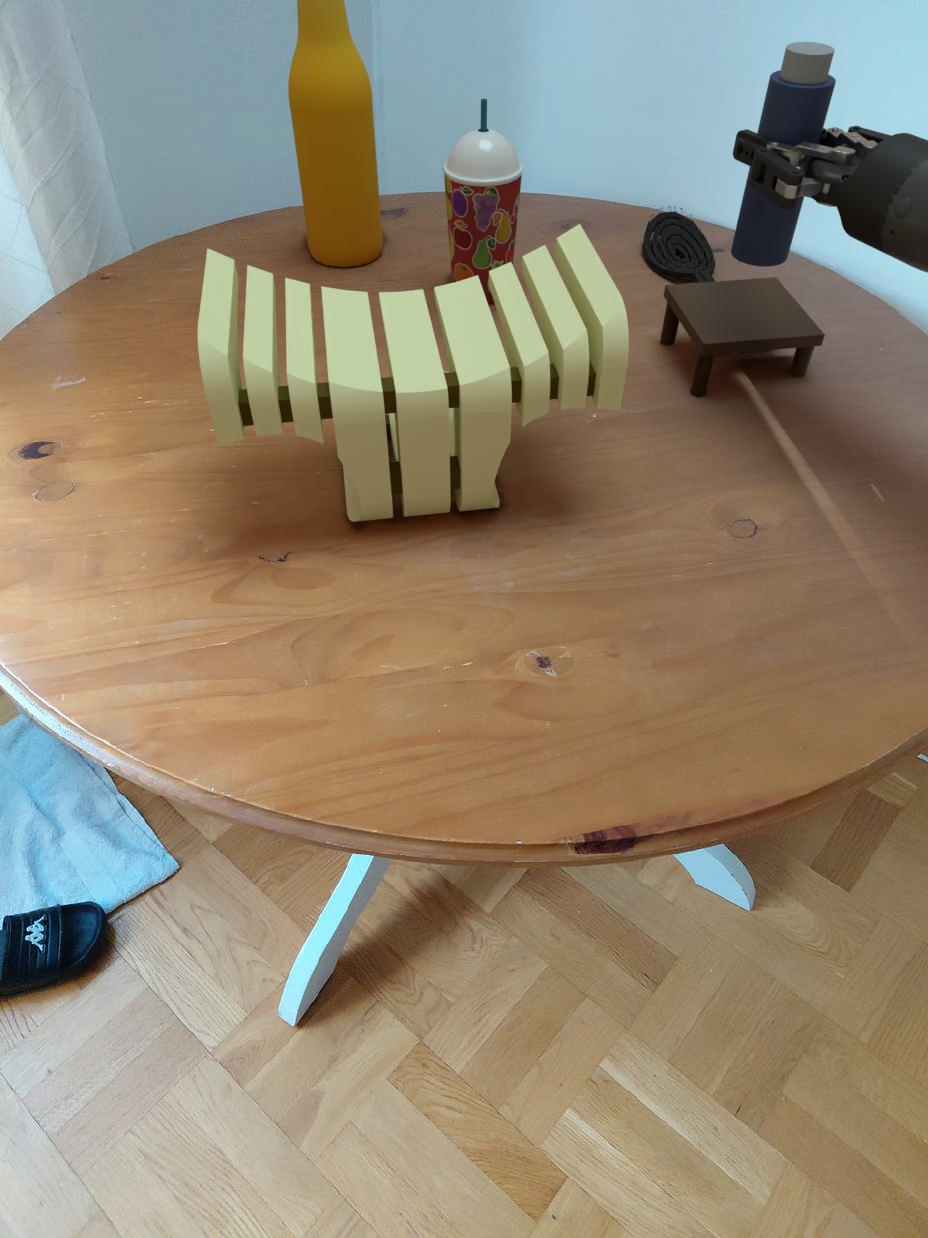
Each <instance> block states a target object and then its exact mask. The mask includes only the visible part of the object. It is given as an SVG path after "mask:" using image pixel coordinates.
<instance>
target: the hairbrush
mask: <svg viewBox="0 0 928 1238" xmlns="http://www.w3.org/2000/svg"><path fill="white" fill-rule="evenodd" d="M667 208H668V210H670V209H672V206H669V205H668V207H667ZM673 208H674V209H676V206H674V207H673ZM661 209H662V211H661ZM656 210H657V211H659V210H660V212H657V214H656V215H655V213H652V216H649V219H650V220H648V221H647V224H646V228H645V230H644V235H643V240H642V246H641V249H642V250H641V251H642V253H643V255H644V258H645V260H646V263H647V265H648V268H649V269H651V270H653V271H654V272H656V273H657V274H658V275H660V276H662V277H667V278H672V279H677V280H691V281H692V283H701V282H715V281H716V279H715V278H714V277H713V275H714V270H715V268H716V264H717V263H716V260H715V255H714V252H713V248H712V247H711V245H710V243H709V242H708V239H707V237H706V236H705V234H704V233H703V231H702V229H701V228H699V227H698V225H697V224H696V223H695V221H694V220H692V218H691V219H690V218H688V217H687V215H686V216H685V215H684V213H683V211H681V213H679V212H677V211H676V210H674V211H672V210H670V211H665V212H664V207H659V208H657V209H656ZM680 210H683V207H680ZM654 215H655V216H654ZM689 216H690V217H692V214H690V215H689ZM651 218H652V219H651Z"/></svg>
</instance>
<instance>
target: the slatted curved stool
mask: <svg viewBox="0 0 928 1238" xmlns="http://www.w3.org/2000/svg"><path fill="white" fill-rule="evenodd" d="M555 239H556V240H555V241H556V242H555V254H554V260H553V257H552V255H551V254H550V252H549V249H548V247H547V246H546V244H543V245H542V246H540V247H537V248H535V249H534V250H532V251H530V252H528V253H526V254H523V255H522V258H521V274H522V277H523V279H524V282H525V284H526V288H527V289H528V292H529V295H530V298H531V300H532V303H533V307H534V308H535V312H536V316H537V319H538V323H537V320H536V319H535V315H534V313H533V310H532V308H531V306H530V304H529V300H528V299H527V296H526V293H525V292H524V290H523V289H524V288H523V287H522V284H521V282H520V280H519V277H518V275H517V272H516V270H515V267H514V264H513V265H512V263H511V262H510V263H507V264H505V265H502V266H500V267H498V268H495V269H493V270H491V271H489V288H490V291H491V293H492V296H493V299H494V306H495V308H496V312H497V316H498V319H499V322H500V326H501V329H502V335H503V338H504V342H505V346H506V351H507V355H506V352H505V349H504V346H503V343H502V341H501V340H502V339H501V337H500V335H499V332H498V329H497V326H496V323H495V320H494V317H493V314H492V312H491V309H490V305H489V303H487V300H486V297H485V294H484V291H483V288H482V286H481V283H480V280H479V277H478V275H477V276H474V277H471V278H468V279H464V280H461V281H458V282H454V283H452V282H450V283H447V284H443V285H437V286H434V287H433V297H434V298H433V299H434V304H435V308H436V312H437V316H438V320H439V324H440V330H441V333H442V338H443V342H444V343H443V344H444V348H445V353H446V358H447V364H448V370H449V371H448V372H444V368H443V363H442V361H441V356H440V352H439V348H438V343H437V340H436V335H435V331H434V328H433V324H432V320H431V315H430V311H429V307H428V304H427V300H426V296H425V295H426V294H425V292H424V289H423V288H420V289H413V290H404V291H403V290H402V291H379V292H378V302H379V309H380V314H381V315H380V316H381V320H382V326H383V334H384V340H385V347H386V354H387V361H388V368H389V369H388V370H389V376H386V377H381V372H380V371H381V370H380V366H379V364H380V363H379V358H378V353H377V352H378V351H377V345H376V337H375V331H374V326H373V325H374V324H373V320H372V319H373V318H372V313H371V306H370V305H371V304H370V299H369V293H368V291H360V290H347V289H340V288H334V287H328V286H322V285H321V286H320V287H321V300H322V313H323V314H322V315H323V326H324V338H325V340H324V341H325V349H326V350H325V352H326V362H327V363H326V365H327V366H326V367H327V376H328V377H327V378H328V380H327V382H319V375H318V367H317V355H316V344H315V342H316V341H315V331H314V316H313V303H312V302H313V300H312V299H313V298H312V292H311V285H310V283H307V282H304V281H300V280H298V279H297V280H296V279H293V278H288V277H284V282H285V283H284V286H285V287H284V288H285V338H286V339H285V345H286V348H285V350H286V351H285V353H286V356H285V357H286V379H287V385H281V384H282V383H281V377H280V367H279V355H278V353H279V352H278V338H277V335H278V334H277V303H276V302H277V300H276V299H277V298H276V296H277V295H276V284H275V278H274V273H272V272H269V271H266V270H263V269H260V268H258V267H255V266H252V265H249V264H246V265H247V266H246V286H245V303H244V304H245V306H244V324H243V325H244V327H243V343H242V344H243V345H242V346H243V347H242V362H243V363H242V364H243V371H244V378H245V386H246V388H243V384H242V383H243V382H242V377H241V369H240V358H239V356H240V355H239V342H238V341H239V340H238V311H239V310H238V309H239V308H238V306H239V284H240V283H239V276H238V270H237V266H236V265H237V264H236V261H235V259H233V258H232V257H230V256H227V255H224V254H222V253H220V252H217V251H215V250H213V249H210V248H208V247H207V248H206V256H205V257H206V258H205V265H204V274H203V280H202V281H203V282H202V290H201V298H200V305H199V314H198V321H197V349H198V350H197V351H198V360H199V368H200V373H201V380H202V386H203V390H204V395H205V399H206V403H207V408H208V411H209V415H210V418H211V423H212V426H213V431H214V434H215V438H216V443H217V446H218V448H220V447H222V446H225V445H229V444H232V443H236V442H240V441H243V440H245V427H249V426H253V427H254V431H255V436H256V438H257V437H267V436H283V435H284V427H283V426H284V423H293V425H294V432H295V436H296V437H301V438H305V439H308V440H312V441H315V442H317V443H320V444H322V445H325V443H324V427H323V420H331V419H332V421H333V429H334V437H335V443H336V451H337V459H338V460H339V461H340V463H341V464H342V469H343V480H344V493H345V494H344V495H345V504H346V514H347V517H348V519H349V521H350V522H353V523H355V522H365V521H377V520H385V519H393V518H394V507H393V497H392V496H397V495H398V496H399V498H400V504H401V510H402V515H403V517H404V518H406V517H416V516H427V515H436V514H437V515H438V514H447V513H450V511H451V490H453V494H454V499H455V503H456V507H457V510H458V511H459V512H466V511H477V510H487V509H496V508H499V507H500V497H499V494H498V490H497V486H496V482H495V481H496V477H497V474H498V472H499V468H500V465H501V462H502V460H503V457H504V456H505V453H506V451H507V449H508V447H509V445H510V443H511V433H512V414H513V413H512V412H513V411H512V409H513V404H515V408H516V411H517V414H518V416H519V420H520V422H521V425H522V427H524V426H526V425H528V424H529V423H531V422H532V421H534V420H536V419H539V418H541V417H543V416H545V415H548V414H549V409H550V400H551V401H552V400H556V402H557V405H558V407H559V409H560V411H565V410H573V409H586V404H587V403H586V402H587V397H591V398H592V401H593V403H594V405H595V407H596V409H600V410H610V411H616V412H621V410H622V404H623V398H624V397H623V396H624V392H625V391H624V390H625V385H626V384H625V383H626V378H627V370H628V363H629V354H630V353H629V352H630V347H629V346H630V336H629V335H630V334H629V321H628V315H627V309H626V306H625V302H624V299H623V296H622V294H621V292H620V291H619V289H618V287H617V285H616V283H615V282H614V280H613V279H612V277H611V275H610V274H609V272H608V269H607V268H606V266H605V264H604V263H603V261H602V260H601V258H600V256H599V254H598V253H597V251H596V249H595V247H594V245H593V244H592V242H591V240H590V238H589V237H588V235H587V233H586V231H585V229H584V228H583V226H582V224H581V223H578V224H577V225H575V226H574V227H571V228H570V229H569V230H567V231H565V232H564V233H562V234H560V235H559V236H557V237H556V238H555ZM554 261H555V262H554ZM557 266H558V267H557ZM558 268H559V270H558ZM559 271H560V272H559ZM561 275H562V276H561ZM564 282H565V283H564ZM538 325H539V326H538ZM388 437H389V438H390V439H391V446H392V453H393V458H394V460H393V461H390V459H389V446H388Z"/></svg>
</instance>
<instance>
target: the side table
mask: <svg viewBox="0 0 928 1238" xmlns="http://www.w3.org/2000/svg"><path fill="white" fill-rule="evenodd" d="M663 297H664V299H665V300H666V305H665V310H664V311H665V312H664V316H663V322H662V327H661V333H660V340H659V343H660V344H661V345H663V346H665V347H672V346H674V345H675V344H676V341H677V340H676V339H677V335H678V330H679V326H680V325H679V324H680V323H681V326H682V327H683V330H685V332H686V334H687V335H688V337H689V338H690V340H691V342H692V343H693V344H694V346H695V348H696V350H697V352H698V353H697V357H696V362H695V365H694V369H693V370H694V371H693V375H692V379H691V385H690V389H689V394H690V395H691V396H692V397H695V398H704V397H705V396H706V395H707V392H708V388H709V383H710V380H711V374H712V371H713V367H714V362H715V358H716V355H723V354H733V353H735V354H736V353H747V352H760V351H772V350H773V351H774V350H784V349H785V350H786V349H795V351H794V353H793V357H792V361H791V363H790V367H789V369H788V373H789V375H790V376H792V377H795V378H804V377H805V376H806V375H807V372H808V369H809V366H810V363H811V360H812V356H813V353H814V351H815V347H821V346H822V345H823V342H824V339H825V336H826V334H825V333H824V332H823V330H822V329H821V328H820V326H818V324H817V323H816V322H815V321H814V320H813V319H812V318H811V316H810V315H809V314H808V313H807V312H806V311H805V309H804V308H803V307H802V305H801V304H799V302H798V301H797V300H796V299H795V297H794V296H793V295H792V294H791V293H790V291H788V290H787V288H786V287H785V286H784V284H783V283H782V282H781V281H780V280H779V279H778V277H776V276H773V277H759V278H744V279H733V280H732V279H731V280H729V279H728V280H715V282H701V283H694V282H688V283H675V284H665V285H664V291H663Z"/></svg>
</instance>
